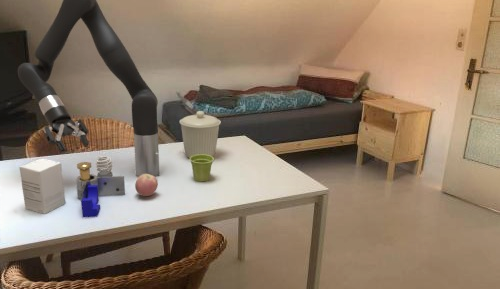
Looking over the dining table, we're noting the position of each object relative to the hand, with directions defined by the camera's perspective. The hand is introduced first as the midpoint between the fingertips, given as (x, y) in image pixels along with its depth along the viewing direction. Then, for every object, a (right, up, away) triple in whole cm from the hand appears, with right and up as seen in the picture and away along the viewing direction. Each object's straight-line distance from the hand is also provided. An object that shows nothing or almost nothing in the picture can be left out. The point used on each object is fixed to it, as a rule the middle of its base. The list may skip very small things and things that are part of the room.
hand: (76, 148), depth 150 cm
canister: (+38, -4, +46) cm, 59 cm away
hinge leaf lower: (+5, -18, -2) cm, 19 cm away
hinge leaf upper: (+8, -17, +3) cm, 19 cm away
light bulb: (+7, -14, +11) cm, 19 cm away
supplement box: (-8, -19, -6) cm, 22 cm away
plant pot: (+41, -12, +21) cm, 48 cm away
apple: (+23, -17, +5) cm, 29 cm away
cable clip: (+8, -20, -6) cm, 23 cm away
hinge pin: (+3, -17, +2) cm, 17 cm away
